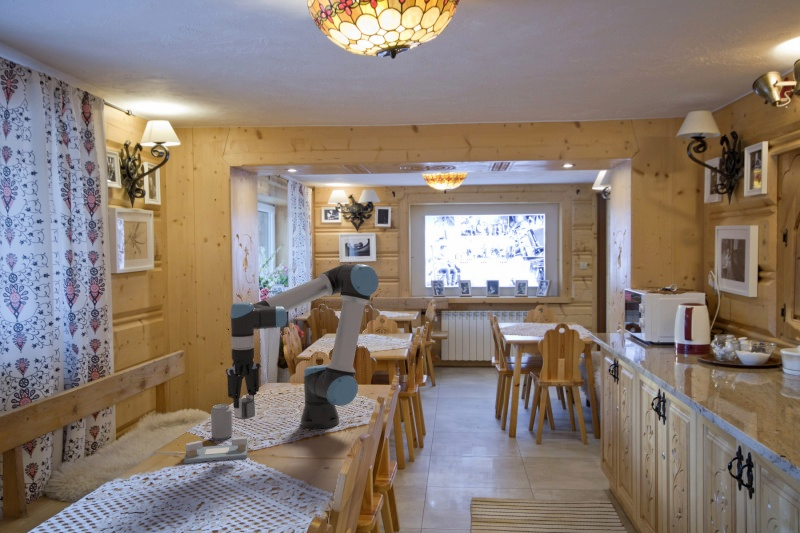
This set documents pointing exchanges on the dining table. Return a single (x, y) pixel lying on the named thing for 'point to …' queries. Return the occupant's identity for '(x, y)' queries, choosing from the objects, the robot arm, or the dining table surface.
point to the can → (221, 421)
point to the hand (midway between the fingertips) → (244, 415)
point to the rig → (216, 451)
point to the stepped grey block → (247, 408)
